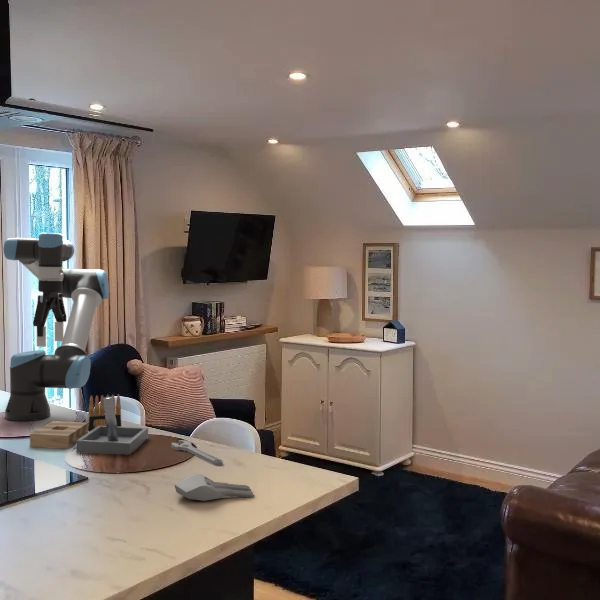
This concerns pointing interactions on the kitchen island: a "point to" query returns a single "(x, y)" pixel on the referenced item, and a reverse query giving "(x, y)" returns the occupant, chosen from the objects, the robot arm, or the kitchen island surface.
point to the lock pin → (110, 419)
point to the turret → (209, 488)
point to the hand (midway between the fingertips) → (50, 343)
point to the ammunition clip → (102, 413)
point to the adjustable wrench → (196, 452)
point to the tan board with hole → (58, 434)
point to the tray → (99, 441)
